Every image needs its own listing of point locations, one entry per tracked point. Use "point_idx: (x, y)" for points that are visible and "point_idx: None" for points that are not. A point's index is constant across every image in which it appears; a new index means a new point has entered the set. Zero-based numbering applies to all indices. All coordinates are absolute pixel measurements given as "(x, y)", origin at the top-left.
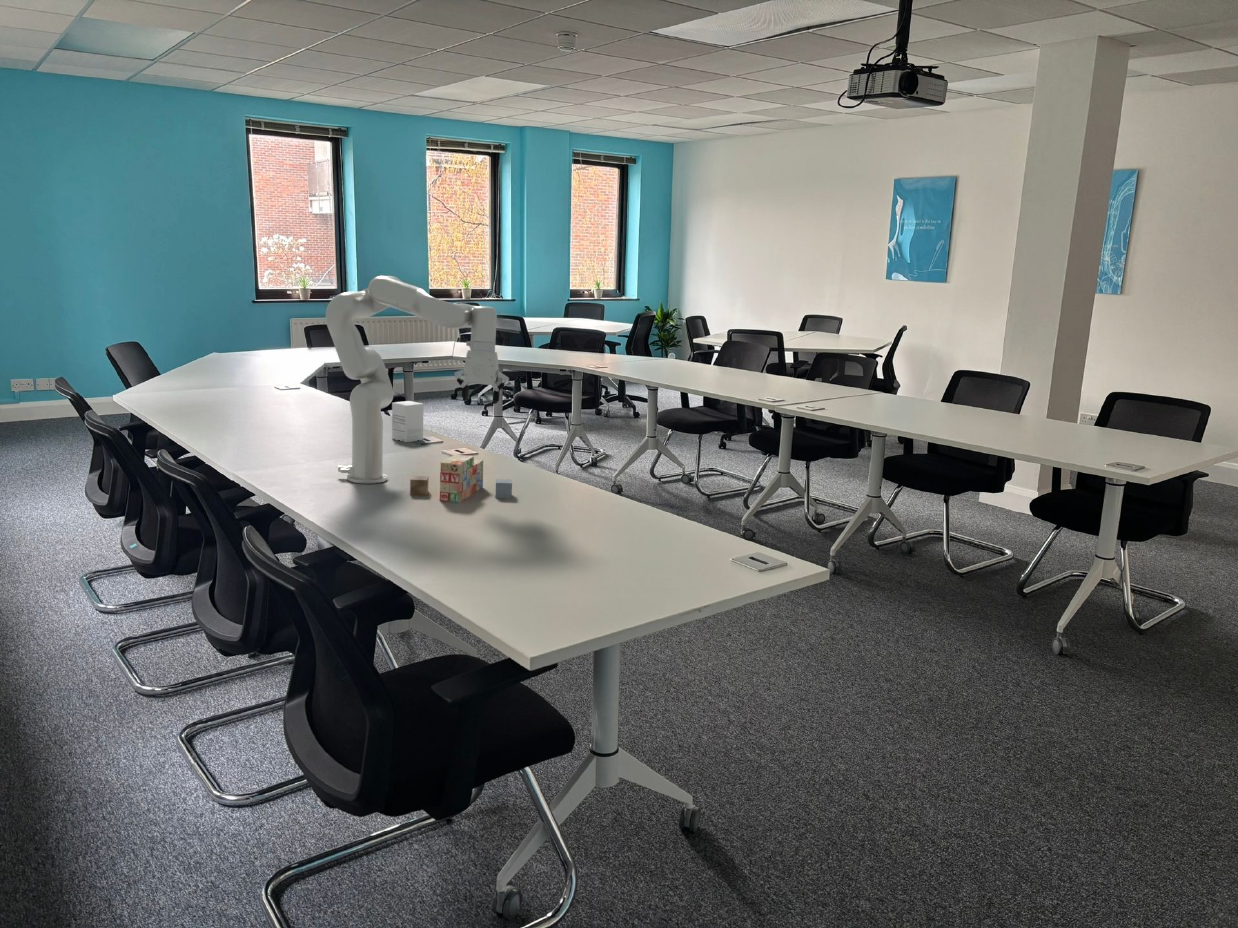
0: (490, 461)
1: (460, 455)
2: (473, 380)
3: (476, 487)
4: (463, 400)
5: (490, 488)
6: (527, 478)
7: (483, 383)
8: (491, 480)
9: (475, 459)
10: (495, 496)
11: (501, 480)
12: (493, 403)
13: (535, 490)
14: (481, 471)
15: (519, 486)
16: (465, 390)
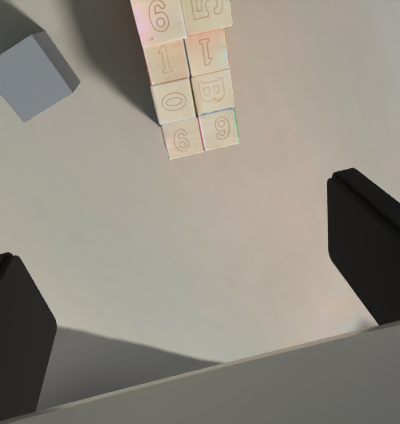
0: (281, 344)
1: (201, 18)
2: (340, 392)
3: (147, 70)
4: (345, 172)
5: (136, 133)
6: (123, 282)
7: (43, 412)
8: (186, 210)
9: (197, 148)
10: (43, 31)
11: (42, 84)
12: (3, 253)
13: (19, 196)
14: (161, 129)
15: (85, 205)
16: (394, 238)
